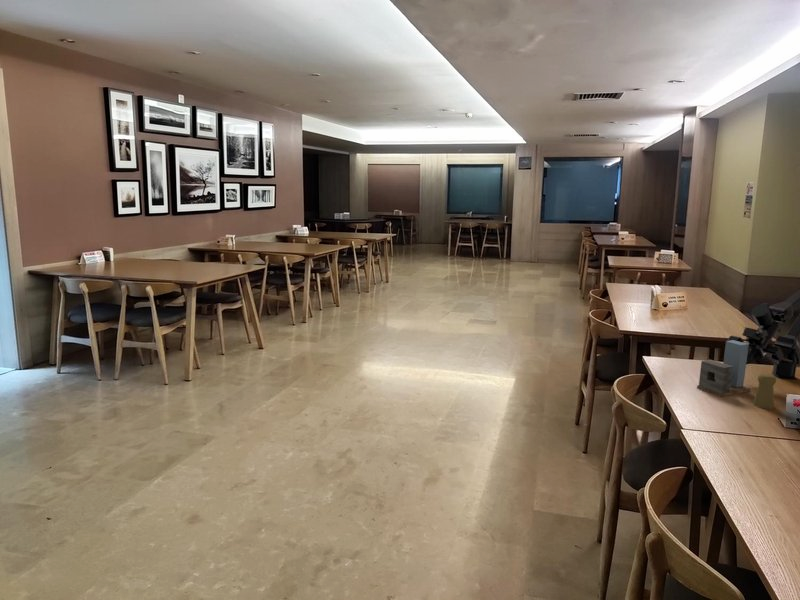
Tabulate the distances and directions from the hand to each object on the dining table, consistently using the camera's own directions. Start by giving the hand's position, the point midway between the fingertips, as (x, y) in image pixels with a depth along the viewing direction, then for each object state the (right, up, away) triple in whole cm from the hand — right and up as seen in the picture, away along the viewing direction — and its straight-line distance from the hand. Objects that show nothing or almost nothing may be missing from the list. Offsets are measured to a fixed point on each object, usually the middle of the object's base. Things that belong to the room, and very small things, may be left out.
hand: (742, 365), depth 213 cm
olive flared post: (-4, -12, -18) cm, 22 cm away
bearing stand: (-9, -9, -3) cm, 13 cm away
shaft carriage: (-7, -7, -2) cm, 11 cm away
